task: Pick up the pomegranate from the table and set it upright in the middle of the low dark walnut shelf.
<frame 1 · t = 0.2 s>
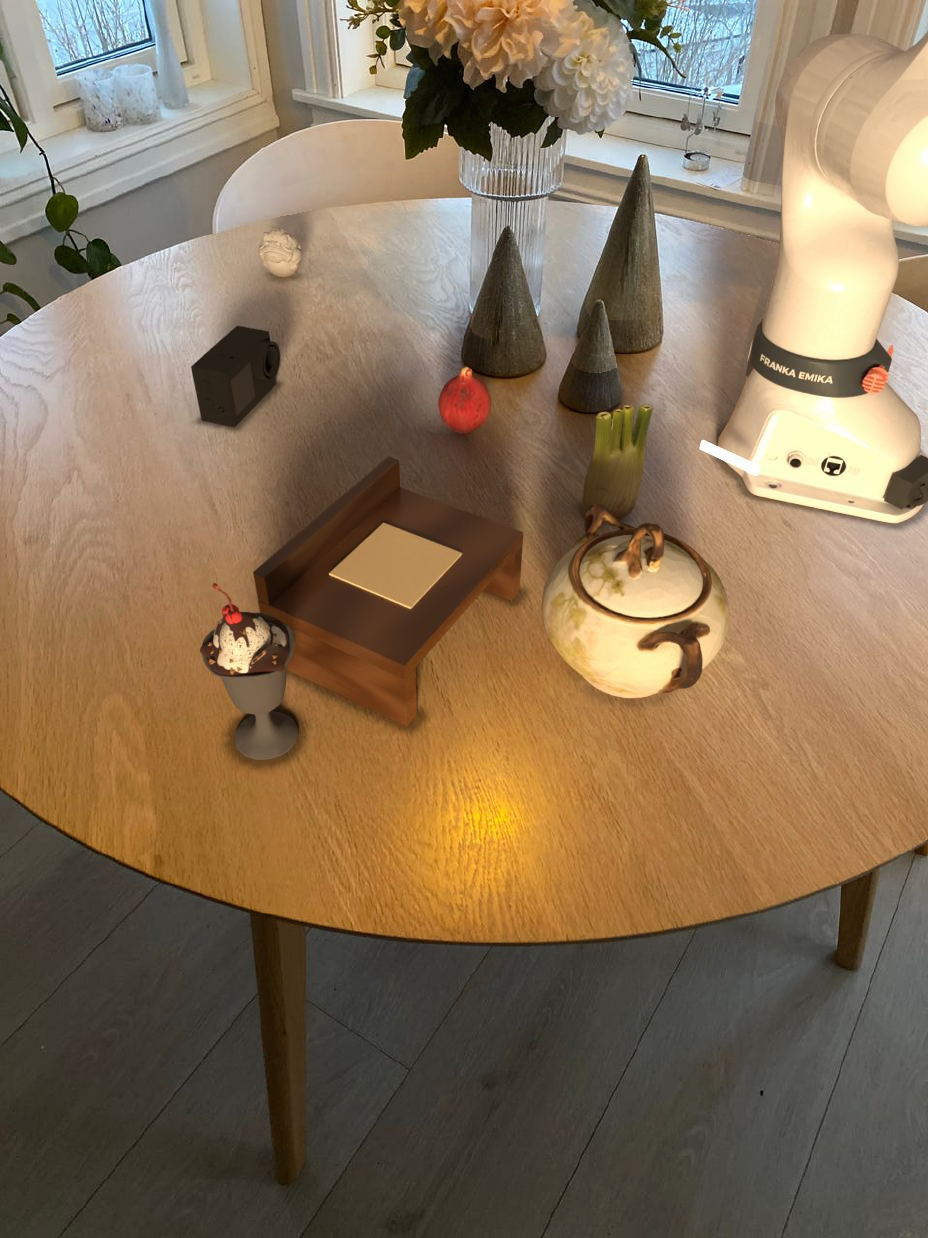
sundae: (266, 737, 75), on the table
shelf: (399, 625, 85), on the table
digital camera: (244, 405, 112), on the table
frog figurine: (283, 277, 137), on the table
sugar bowl: (624, 665, 82), on the table
fennel bulb: (608, 514, 97), on the table
pomegranate: (464, 434, 108), on the table
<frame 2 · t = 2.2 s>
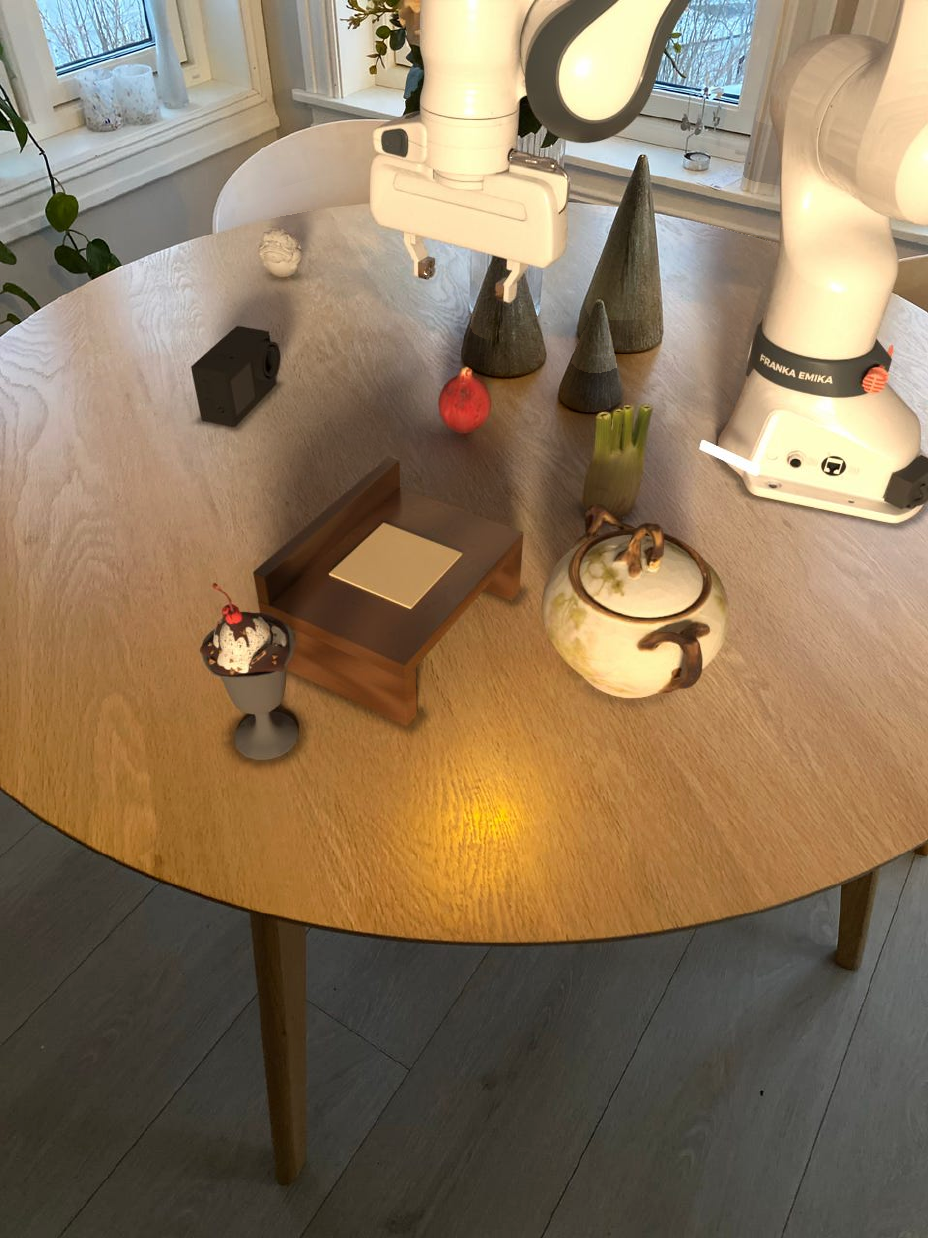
hand: (464, 287, 96), 17 cm above the table, tool pointing down, fingers open, 8 cm apart
nothing on the table moved.
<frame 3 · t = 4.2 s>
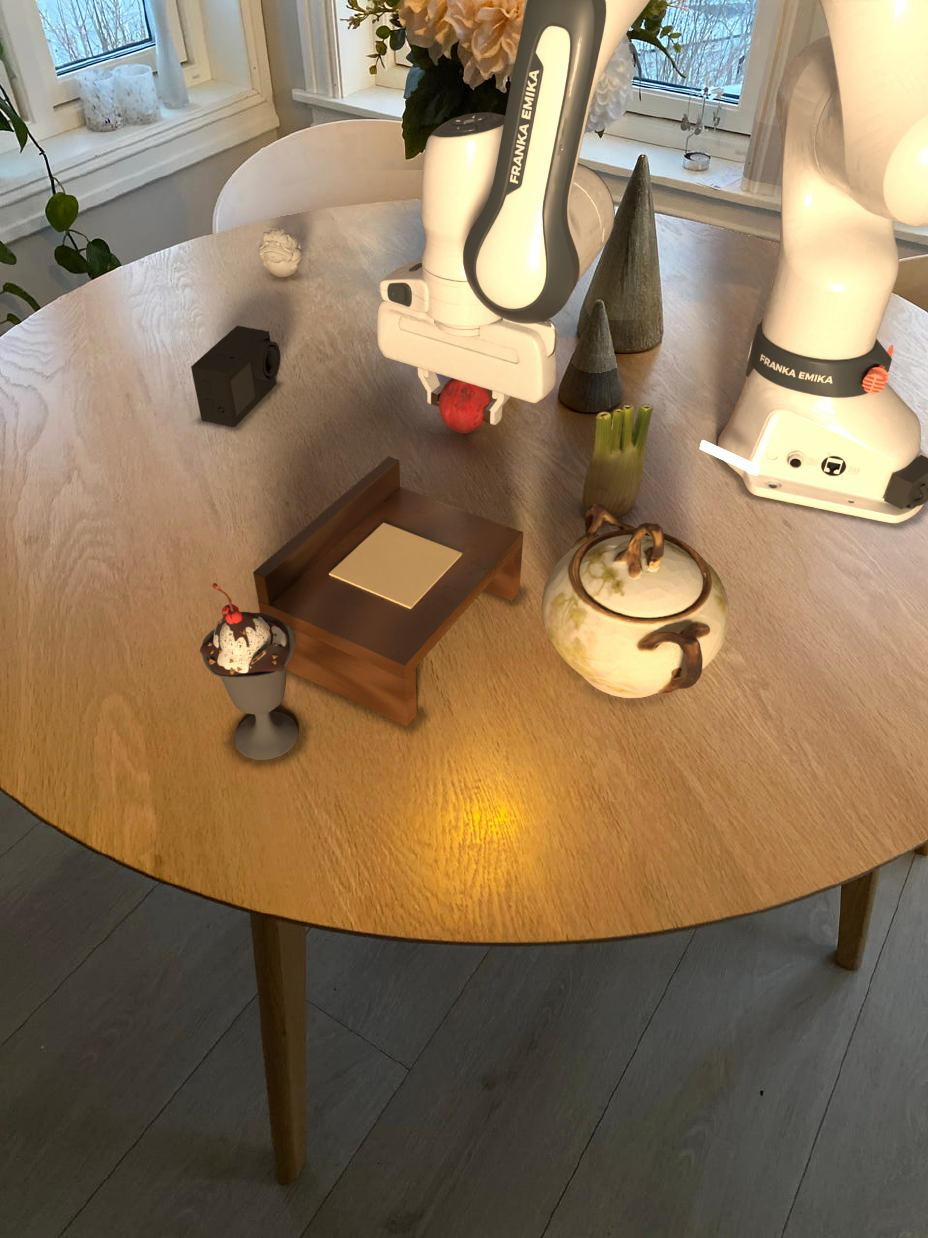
hand: (463, 411, 106), 3 cm above the table, tool pointing down, fingers closed on pomegranate, 6 cm apart
pomegranate: (464, 434, 108), on the table, touching gripper
everything else where it was.
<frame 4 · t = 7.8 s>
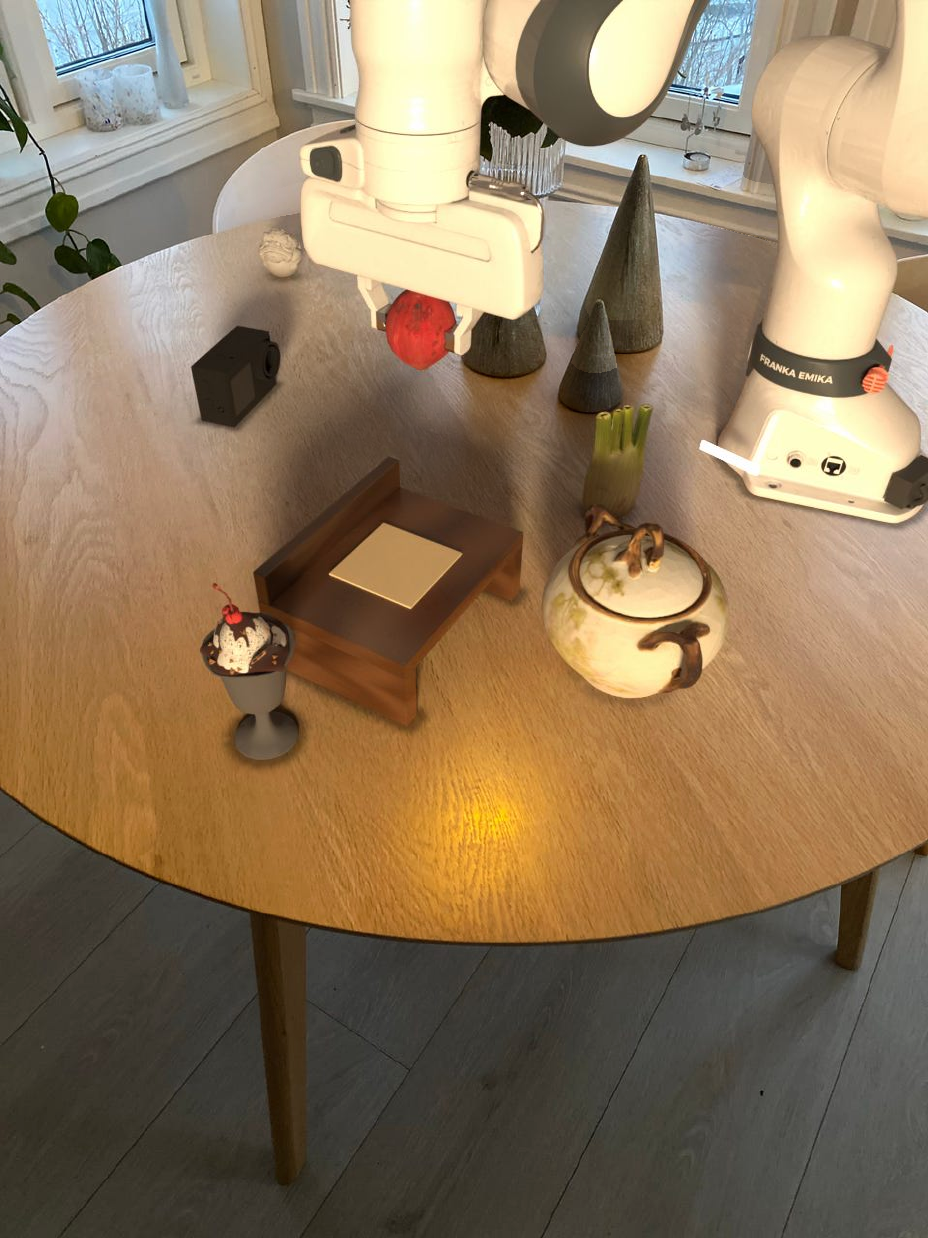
hand: (420, 338, 78), 22 cm above the table, tool pointing down, fingers closed on pomegranate, 6 cm apart
pomegranate: (421, 371, 80), point 19 cm above the table, touching gripper
everything else where it was.
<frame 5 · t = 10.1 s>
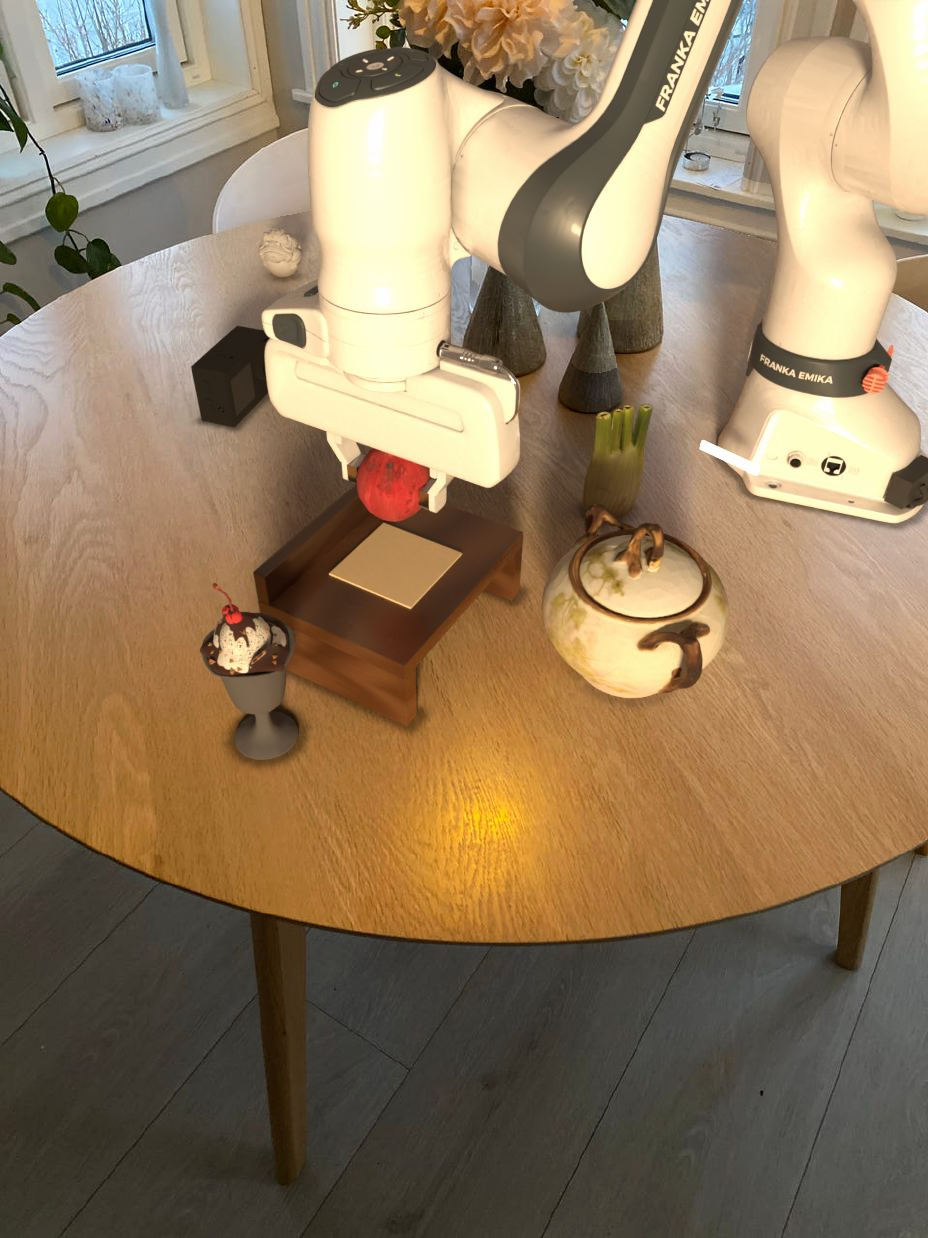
hand: (393, 492, 75), 14 cm above the table, tool pointing down, fingers closed on pomegranate, 6 cm apart
pomegranate: (395, 522, 77), point 11 cm above the table, touching gripper
everything else where it was.
when the fingers open (10 cm above the table, at t = 11.8 s): pomegranate stays where it is, resting on shelf.
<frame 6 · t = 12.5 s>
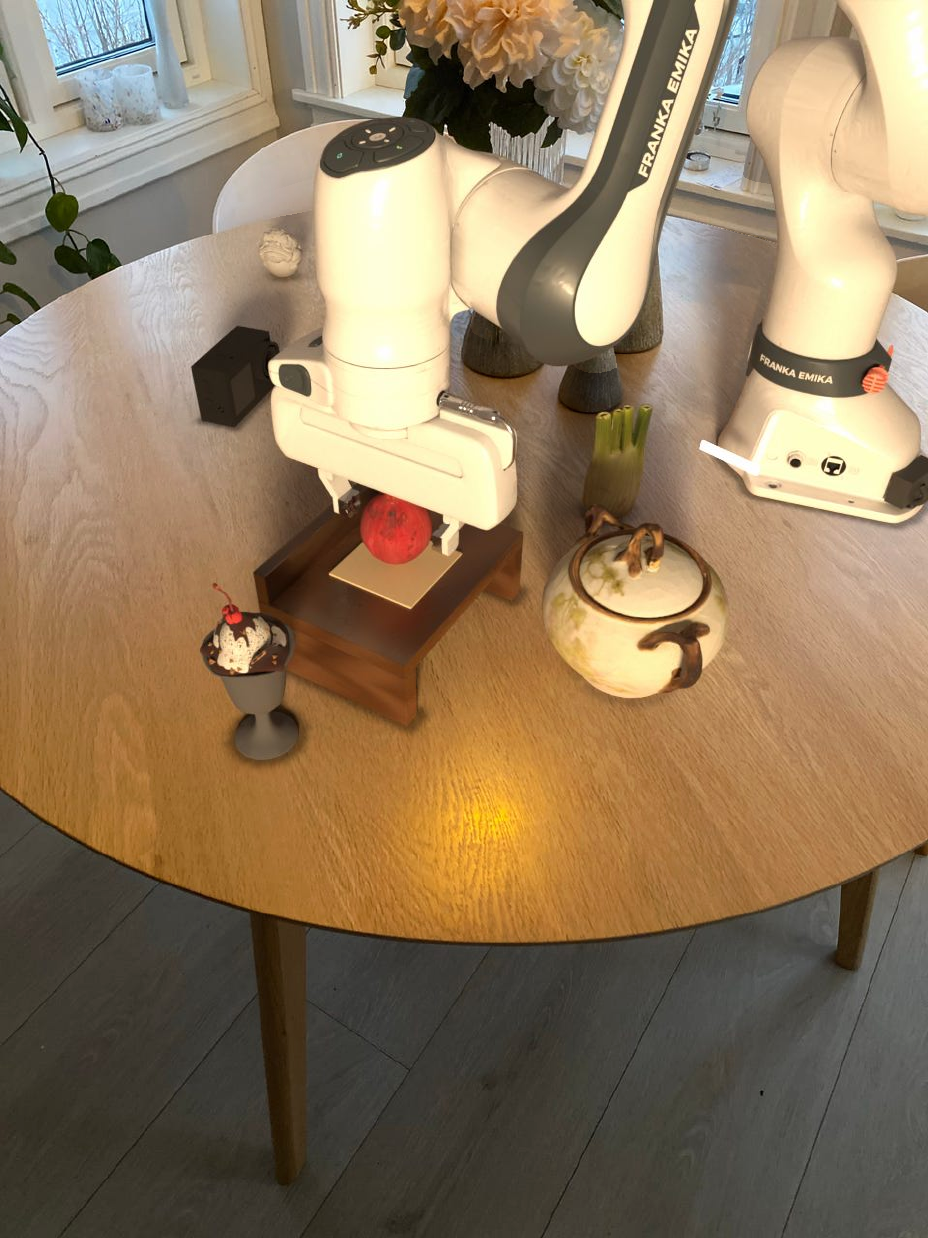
hand: (395, 530, 77), 11 cm above the table, tool pointing down, fingers open, 8 cm apart
pomegranate: (397, 564, 80), point 7 cm above the table, touching shelf
everything else where it was.
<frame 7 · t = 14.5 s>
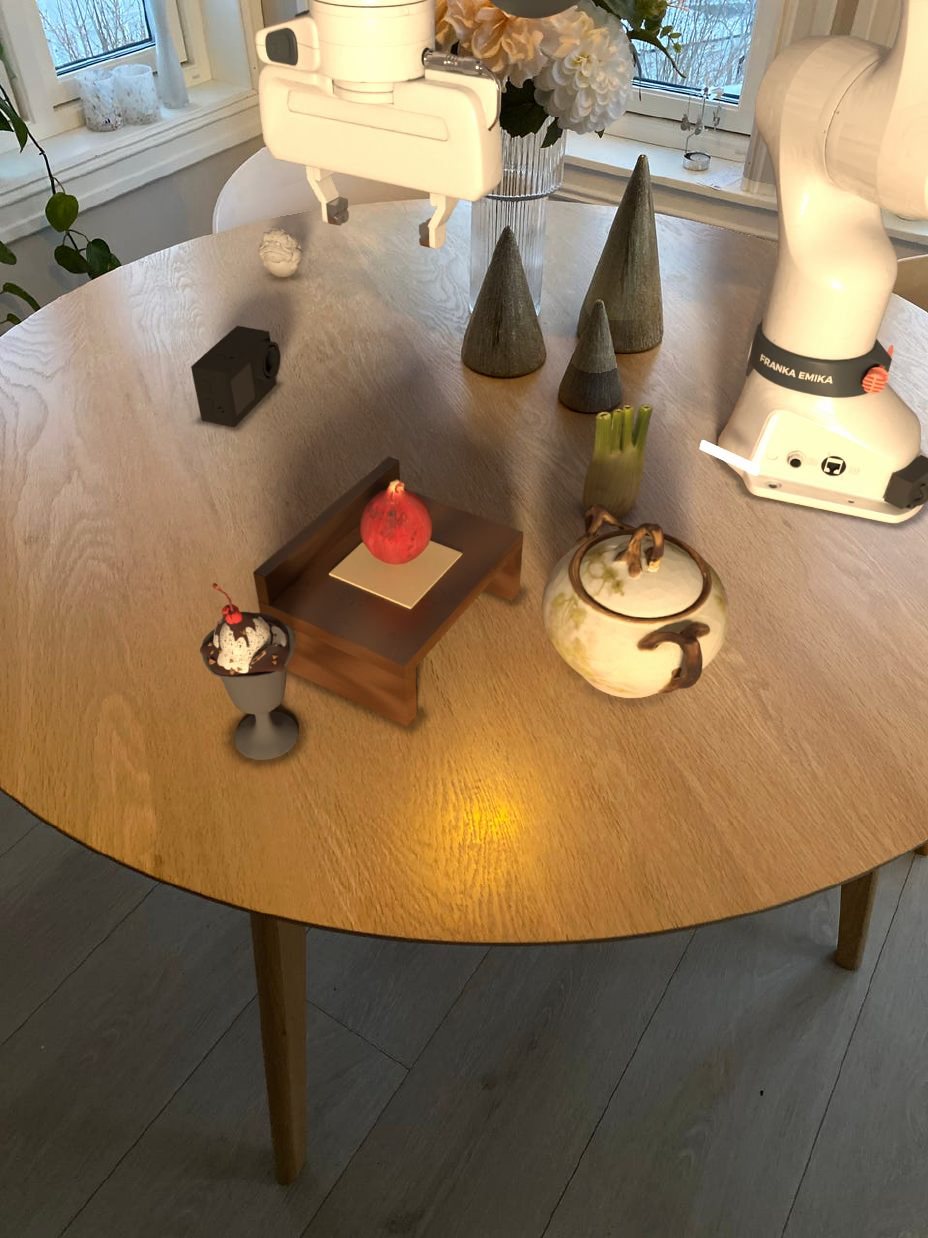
hand: (383, 233, 79), 28 cm above the table, tool pointing down, fingers open, 8 cm apart
nothing on the table moved.
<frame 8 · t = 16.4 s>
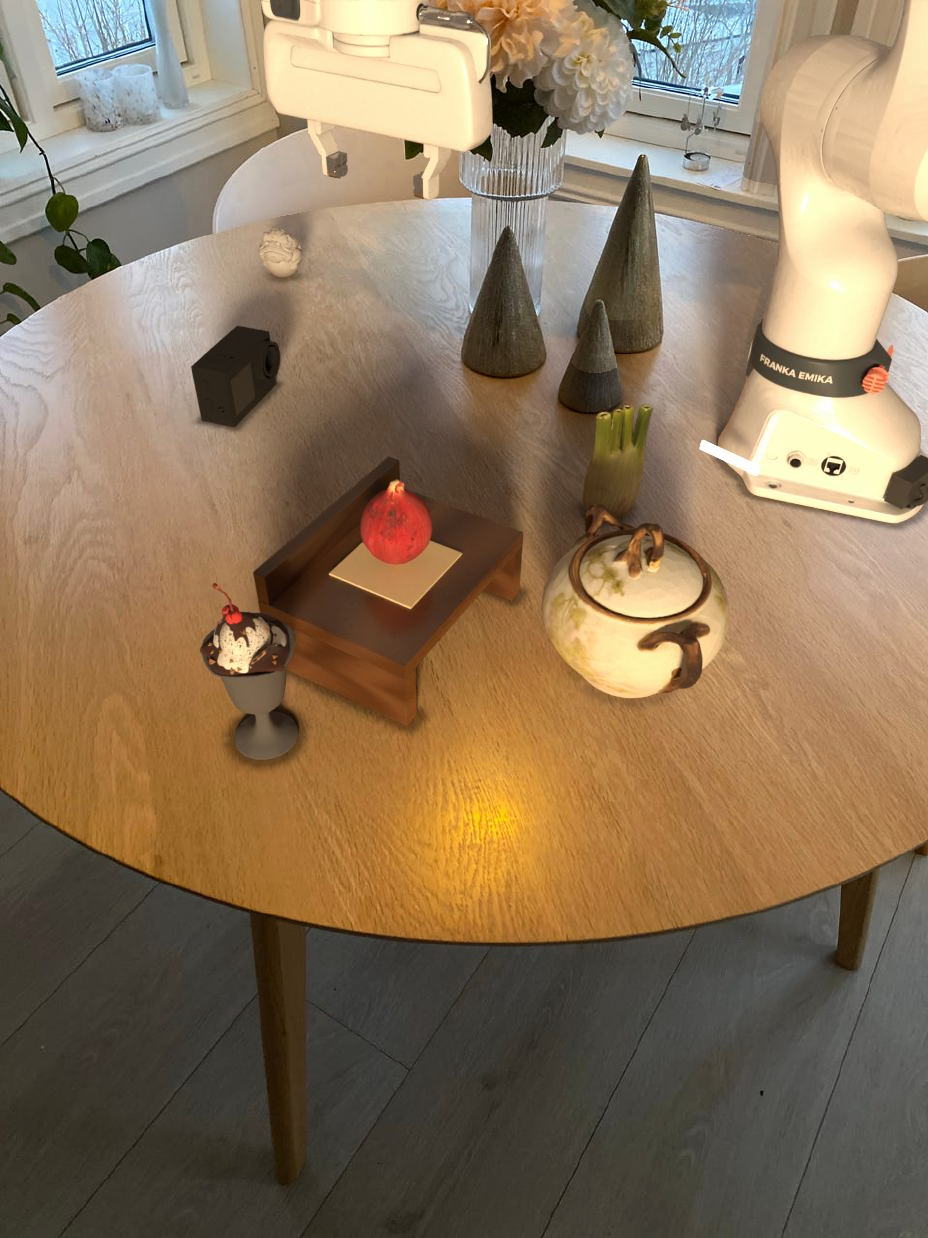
hand: (380, 185, 83), 29 cm above the table, tool pointing down, fingers open, 8 cm apart
nothing on the table moved.
at the end: pomegranate inside the target area on the shelf (0.1 cm from its centre), point 7.0 cm above the shelf's base; pomegranate tilted 0°; the gripper is holding nothing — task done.
